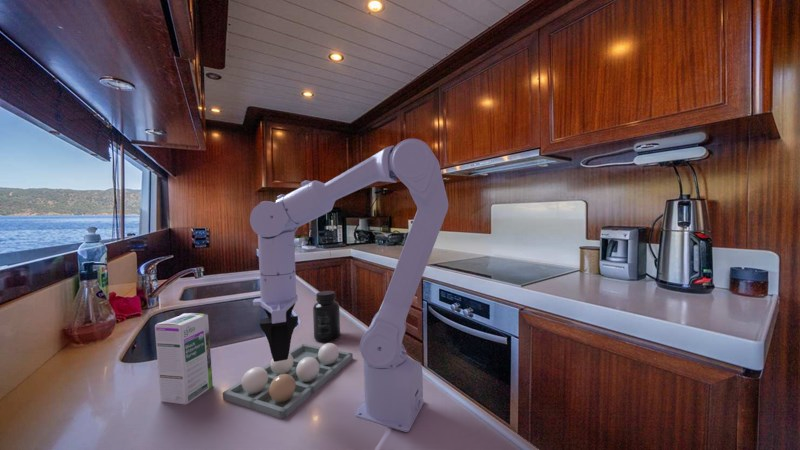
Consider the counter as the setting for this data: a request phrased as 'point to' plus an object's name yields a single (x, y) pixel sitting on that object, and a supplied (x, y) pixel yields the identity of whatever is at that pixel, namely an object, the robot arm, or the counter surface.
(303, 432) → the counter surface
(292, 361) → the egg carton
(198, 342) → the syrup box
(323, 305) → the supplement bottle
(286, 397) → the brown egg
